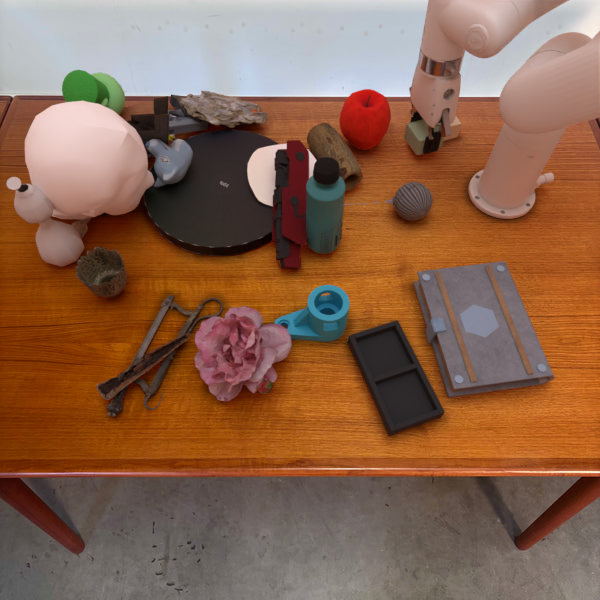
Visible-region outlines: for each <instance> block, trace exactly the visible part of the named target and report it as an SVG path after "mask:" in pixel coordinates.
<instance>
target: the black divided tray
mask: <svg viewBox="0 0 600 600" xmlns="http://www.w3.org/2000/svg"><path fill="white" fill-rule="evenodd" d="M347 345H348V347H349V349H350V352H351V354H352V356H353V358H354V360H355V362H356V365H357V367H358V370H359V372H360V374H361V376H362V378H363V381H364V383H365V385H366V388H367V391H368V392H369V395H370V396H371V399H372V401H373V403H374V406H375V408H376V410H377V413H378V415H379V417H380V419H381V422H382V424H383V427H384V428H385V430H386V433H387V435H388V437H391V436H394V435H396V434H399V433H402V432H405V431H407V430H411V429H414V428H416V427H418V426H421V425H425V424H427V423H430V422H433V421H435V420H439V419H440V418H442V417H443V415H444V414H445V412H446V411H445V410H444V408H443V406H442V404H441V402H440V400H439V398H438V396H437V394H436V393H435V390H434V388H433V386H432V384H431V383H430V380H429V378H428V377H427V375H426V373H425V371H424V369H423V367H422V364H421V363H420V361H419V359H418V357H417V355H416V353H415V351H414V349H413V347H412V345H411V343H410V341H409V340H408V337H407V335H406V334H405V332H404V330H403V328H402V326H401V323H400V322H399V320H398V319H397V320H393V321H390V322H387V323H384V324H380V325H377V326H374V327H371V328H368V329H364V330H361V331H359V332H355V333H352V334H349V335H348V337H347Z"/></svg>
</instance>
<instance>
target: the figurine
mask: <svg viewBox="0 0 600 600" xmlns="http://www.w3.org/2000/svg"><path fill="white" fill-rule="evenodd" d="M6 187H7V188H8V189H9V190H12V191H15V193H14V199H13V206H14V209H15V212H16V214H17V215H18V216H20V218H22V219H23V220H24V221H25V222H27V223H28V224H39V226H38V228H37V231H36V234H35V245H36V247H37V250H38V254H39V255H40V257H41V260H43V262H45V263H47V264H50V265H54V266H57V267H65V266H68V265H70V264H73V263H75V262H77V261H78V260H79V258H80V257H81V256H82V255H81V254H82V253H83V252H84V250H85V244H84V242H83V239H82V238H81V237H80V234H79V232H78V230H77V229H76V228H75V227H73V226H71V224H69V223H66V222H63V221H59V220H55V219H52V218H51V217H53V216H52V214H53V209H54V206H53V204H52V203H51V201H50V200H49V199H48V198H47V197H46V196H45V195H44V194H43V193H42V192H41V190H39V189H38V188H37V187H36V186H34V185H32V184H31V183H22V181H21V179H20V178H19V177H17V176H11V177H9V178H8V179H7V180H6Z"/></svg>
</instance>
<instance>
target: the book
mask: <svg viewBox="0 0 600 600" xmlns="http://www.w3.org/2000/svg"><path fill="white" fill-rule="evenodd" d="M416 274H417V277H418V280H415V281H413V287H414V290H415V294H416V297H417V300H418V303H419V307H420V310H421V314H422V316H423V320H424V323H425V326H426V328H425V330H424V334H425V336H426V340H427V343H428V345H431V347H432V349H433V352H434V353H433V354H434V356H435V359H436V363H437V366H438V370H439V372H440V376H441V379H442V382H443V386H444V390H445V392H446V396H447V398H457V397H462V396H463V397H464V396H470V395H478V394H484V393H485V394H486V393H491V392H498V391H505V390H506V391H507V390H513V389H522V388H527V387H535V386H541V385H545V384H548V383H549V382H551V381H553V380H554V379H555V374H554V372H553V370H552V368H551V366H550V363H549V361H548V358H547V356H546V354H545V351H544V349H543V347H542V345H541V342H540V340H539V337H538V335H537V333H536V330H535V328H534V325H533V322H532V321H531V319H530V316H529V314H528V311H527V308H526V307H525V304H524V302H523V299H522V297H521V295H520V292H519V290H518V288H517V284H516V283H515V281H514V278H513V276H512V274H511V270H510V269H509V266H508V264H507V263H506V261H505V260H501V261H494V262H493V261H492V262H486V263H478V264H470V265H469V264H467V265H459V266H452V267H443V268H438V269H437V268H436V269H427V270H419V271H417V272H416Z"/></svg>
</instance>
